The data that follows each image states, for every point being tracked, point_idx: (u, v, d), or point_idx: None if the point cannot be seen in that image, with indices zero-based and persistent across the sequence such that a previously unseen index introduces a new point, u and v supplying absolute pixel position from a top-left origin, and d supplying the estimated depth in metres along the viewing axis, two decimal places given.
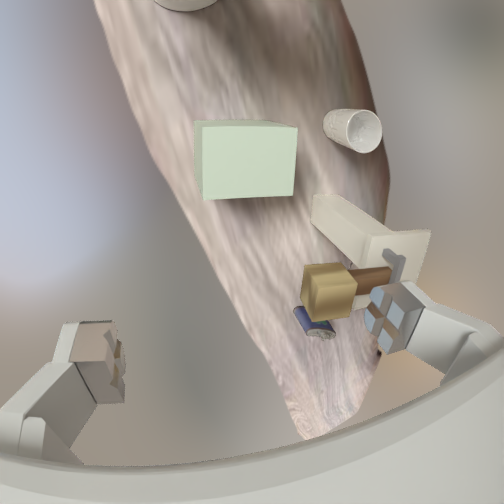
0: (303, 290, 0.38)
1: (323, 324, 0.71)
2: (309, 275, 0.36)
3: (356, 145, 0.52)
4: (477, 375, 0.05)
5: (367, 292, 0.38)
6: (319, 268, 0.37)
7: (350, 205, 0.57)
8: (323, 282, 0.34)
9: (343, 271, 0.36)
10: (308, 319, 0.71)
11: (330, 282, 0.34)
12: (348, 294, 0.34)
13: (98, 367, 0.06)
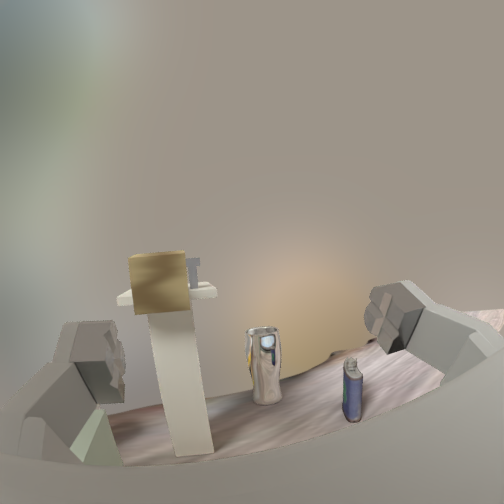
0: (169, 302, 0.26)
1: None
2: (136, 294, 0.25)
3: None
4: (477, 376, 0.05)
5: None
6: None
7: None
8: None
9: None
10: (348, 393, 0.44)
11: None
12: (148, 253, 0.29)
13: (98, 367, 0.06)
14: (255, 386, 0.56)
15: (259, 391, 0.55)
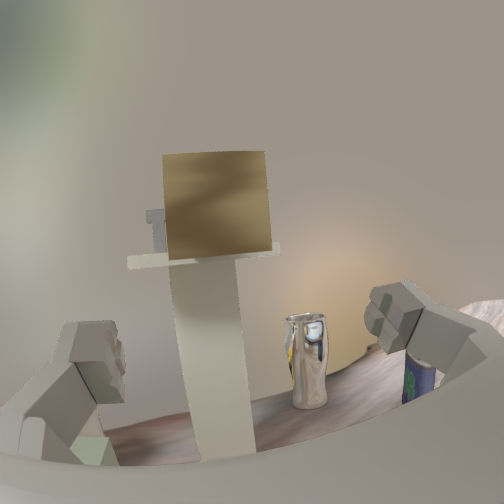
0: (236, 236, 0.15)
1: (409, 368, 0.37)
2: (173, 220, 0.14)
3: None
4: (477, 375, 0.05)
5: None
6: None
7: None
8: None
9: None
10: (418, 387, 0.33)
11: None
12: None
13: (98, 367, 0.06)
14: (297, 387, 0.45)
15: (302, 393, 0.44)
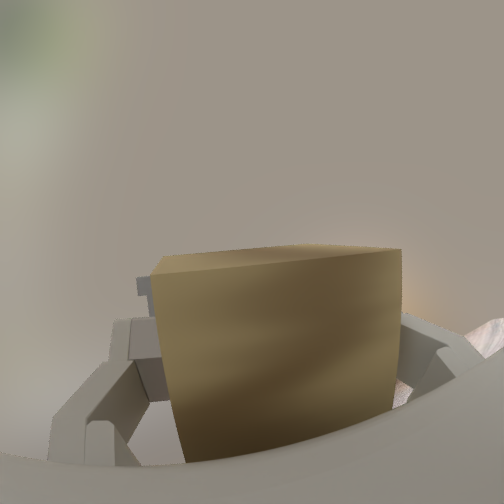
0: None
1: None
2: (196, 432, 0.05)
3: None
4: (477, 376, 0.05)
5: None
6: None
7: None
8: None
9: None
10: None
11: None
12: (208, 254, 0.09)
13: (159, 363, 0.06)
14: None
15: None
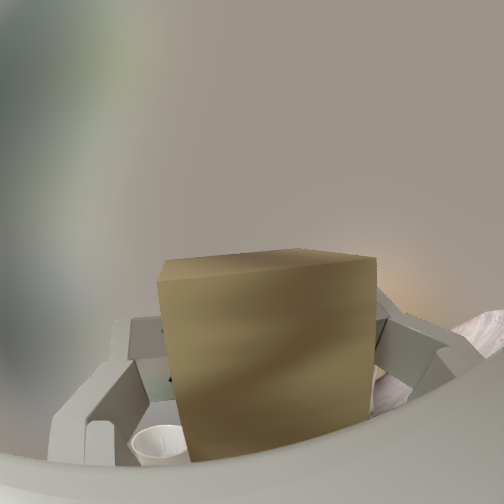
0: (314, 424, 0.07)
1: None
2: (195, 415, 0.06)
3: None
4: (477, 376, 0.05)
5: None
6: None
7: None
8: None
9: None
10: None
11: None
12: (206, 258, 0.10)
13: (159, 363, 0.06)
14: None
15: None
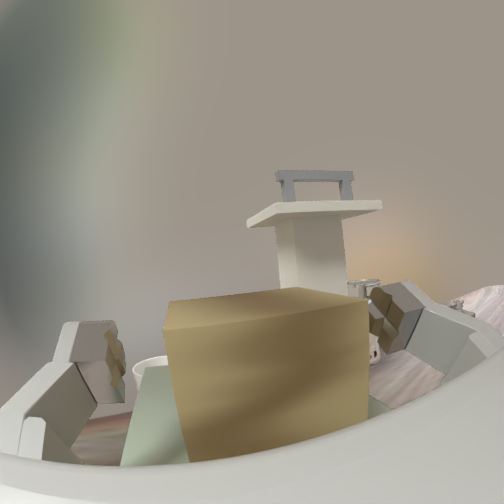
0: None
1: None
2: (201, 448, 0.06)
3: None
4: (477, 376, 0.05)
5: None
6: None
7: None
8: None
9: None
10: None
11: None
12: (209, 300, 0.10)
13: (98, 367, 0.06)
14: None
15: None
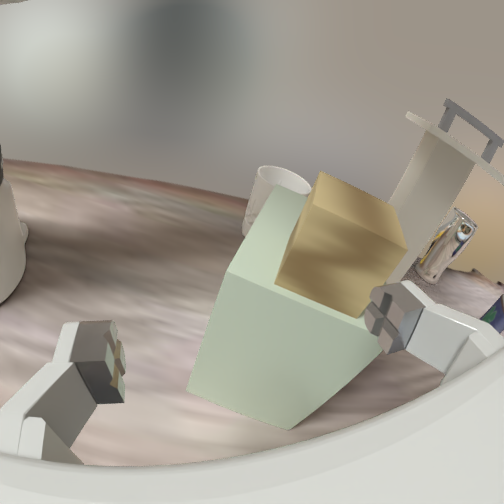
0: (336, 297, 0.15)
1: (496, 307, 0.41)
2: (293, 260, 0.15)
3: None
4: (477, 375, 0.05)
5: None
6: (286, 252, 0.17)
7: None
8: (306, 212, 0.14)
9: (301, 213, 0.18)
10: (493, 324, 0.39)
11: (309, 203, 0.15)
12: (341, 186, 0.16)
13: (98, 367, 0.06)
14: (428, 258, 0.53)
15: (428, 265, 0.52)
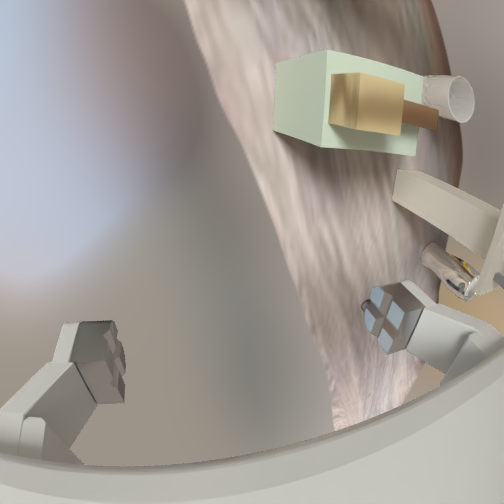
0: (333, 106, 0.25)
1: None
2: (340, 77, 0.23)
3: None
4: (477, 376, 0.05)
5: (411, 122, 0.26)
6: None
7: (440, 181, 0.44)
8: None
9: None
10: None
11: None
12: (396, 96, 0.22)
13: (98, 367, 0.06)
14: (440, 252, 0.57)
15: (435, 253, 0.58)
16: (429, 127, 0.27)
